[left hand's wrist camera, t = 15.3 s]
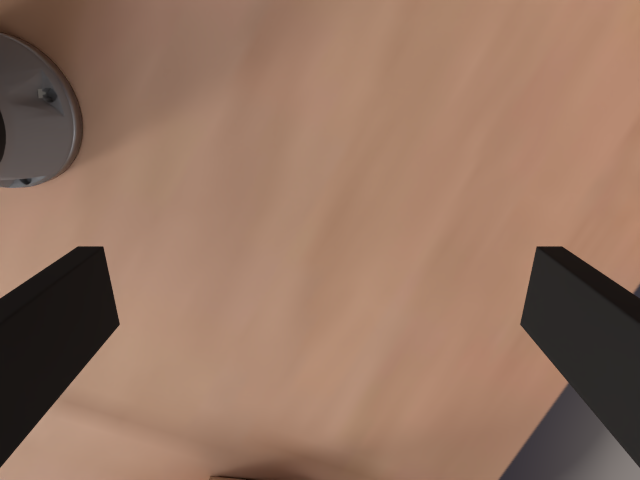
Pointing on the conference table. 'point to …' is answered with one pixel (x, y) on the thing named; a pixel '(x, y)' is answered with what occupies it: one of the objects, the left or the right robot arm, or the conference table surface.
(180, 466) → the conference table surface
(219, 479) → the box
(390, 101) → the conference table surface
